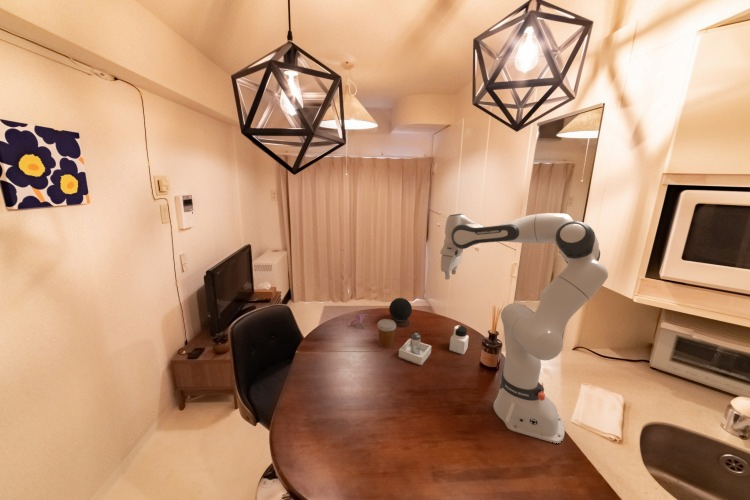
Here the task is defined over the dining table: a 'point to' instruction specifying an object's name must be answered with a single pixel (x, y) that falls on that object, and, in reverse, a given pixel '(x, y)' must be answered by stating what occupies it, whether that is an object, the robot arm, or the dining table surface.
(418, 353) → the salt shaker
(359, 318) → the lily
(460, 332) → the medicine bottle
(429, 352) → the white square tray
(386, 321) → the disposable coffee cup
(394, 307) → the black ball on stand
